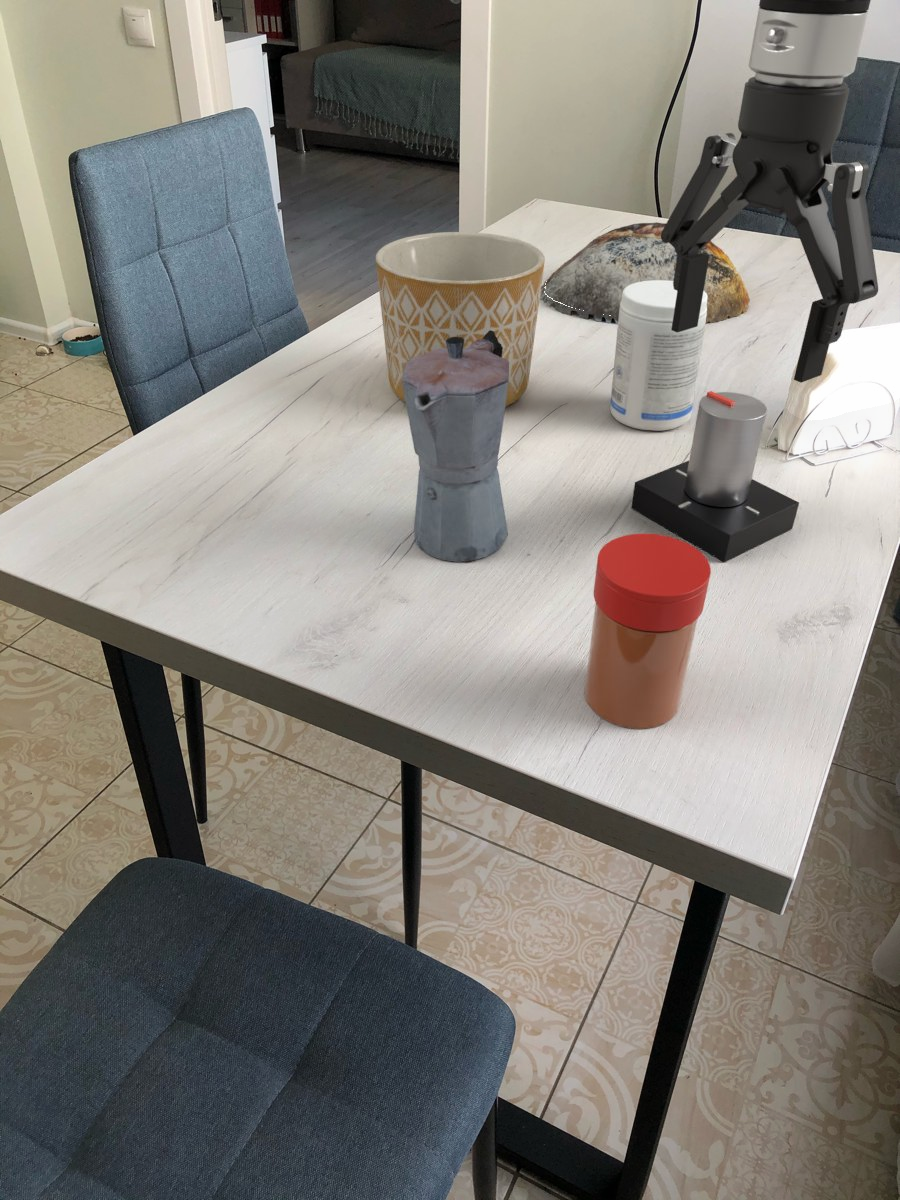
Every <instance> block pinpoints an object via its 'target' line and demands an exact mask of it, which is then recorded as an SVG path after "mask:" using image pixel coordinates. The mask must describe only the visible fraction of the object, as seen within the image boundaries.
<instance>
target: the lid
mask: <svg viewBox="0 0 900 1200" xmlns="http://www.w3.org/2000/svg"><path fill="white" fill-rule="evenodd" d="M711 573H712V568H711V565H710V562H709V559H707V557H706V556H705V555H704V554H703V552H701V551H700V550H699V549H698V548H697V547H696V546H693V544H691V543H688V542H687V541H683V540H681V539H678V538H675V537H672V536H669V535H663V534H657V533H631V534H626V535H621V536H617V537H616V538H613V539H612V540H610V541H608V542H607V543H605V544H604V545H603V546H602V547H601V549H599V552H598V555H597V560H596V568H595V577H594V584H593V598H594V602H595V603H596V604H597V606H598V607H599V608H600V610H601V611H602V612H603V613H604V614H606V615H607V616H608V617H609V618H611V619H613V620H614V621H616V622H618V623H620V624H623V625H625V626H628V627H631V628H634V629H639V630H645V631H656V632H658V631H671V630H677V629H680V628H683V627H686V626H688V625H690V624H691V623H693V622H694V621H696V620H697V621H698V619H699V618H700V617H701V615H702V613H703V611H704V606H705V602H706V598H707V592H708V589H709V588H708V587H709V583H710V578H711Z"/></svg>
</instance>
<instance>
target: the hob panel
mask: <svg viewBox="0 0 900 1200" xmlns="http://www.w3.org/2000/svg"><path fill="white" fill-rule="evenodd" d="M688 465H689V460H686V461H683V462H682V463H679V464H676V465H674V466H671V467H669V468H667V469H664V470H662V471H660V472H656V473H655V474H651V475H650V476H646V477H643V478H642V479H640V480H637V481H635V482H634V487H633V492H632V493H633V494H632V501H631V507H630V508H631V509H632V510H633V511H635V512H638V513H639V514H641V516H643V517H646V518H647V519H649V520H651V521H652V522H654V523H656V524H658V525H659V526H661V527H663V528H664V529H666V530H668V531H669V532H671V533H673V534H674V535H677V536H678V537H680V538H681V539H683V540H685V541H686V542H687V543H688V542H689V544H691V545H694V547H696V548H699V549H700V550H702V551H704V552H706V553H707V554H708V555H710V556H712V557H714V558H715V559H718V560H719V561H720V562H723V563H726V562H728V561H730V560H732V559H734V558H736V557H738V556H740V555H742V554H745V553H746V552H748V551H751V550H753V549H754V548H756V547H759V546H761V545H762V544H765V543H767V542H769V541H772V540H773V539H775V538H777V537H779V536H781V535H783V534H785V533H787V532H789V531H791V530H793V529H794V528H793V527H794V524H795V521H796V517H797V512H798V510H799V505H800V502H799V501H797V500H795V499H793V498H791V497H789V496H787V495H785V494H783V493H781V492H779V491H777V490H775V489H773V488H771V487H769V486H768V485H765V484H763V483H761V482H759V481H757V480H755V479H753V478H752V480H751V484H750V489H749V493H748V497H747V499H746V500H745V501H744V502H743V503H741V504H739V505H736V506H732V507H714V506H709V505H705V504H702V503H699V502H697V501H695V500H693V499H692V498H691V497H689V496H688V495H687V493H686V492H685V481H686V476H687V470H688Z"/></svg>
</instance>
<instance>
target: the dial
mask: <svg viewBox="0 0 900 1200" xmlns="http://www.w3.org/2000/svg"><path fill="white" fill-rule="evenodd" d="M767 413H768V409H767V405H766V404H765V403H764V402H763V401H761V400H760V399H758V398H756V397H753V396H751V395H747V394H744V393H739V392H731V391H722V392H721V391H720V392H715V391H712V390H710V391H707V392H706V395H704V396H703V397H701V398H700V400H699V403H698V409H697V414H696V420H695V426H694V432H693V438H692V443H691V449H690V453H689V459H688V461H689V465H688V470H687V476H686V481H685V492H686V493H687V495H688V496H689V497H691V498H692V499H693V500H695V501H697V502H699V503H702V504H705V505H709V506H714V507H732V506H736V505H739V504H741V503H743V502H744V501H745V500H746V499H747V497H748V493H749V489H750V484H751V480H752V479H753V474H754V471H755V466H756V462H757V458H758V453H759V449H760V443H761V439H762V435H763V431H764V426H765V423H766V417H767Z"/></svg>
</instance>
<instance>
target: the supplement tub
mask: <svg viewBox="0 0 900 1200" xmlns="http://www.w3.org/2000/svg"><path fill="white" fill-rule="evenodd" d="M676 297H677V290H674V287H673V281H666V280H651V281H642V282H637V283H633V284H631V285H629V286H627V287H626V288H624V290H623V293H622V300H621V302H620V310H619V319H618V324H617V328H616V329H617V330H616V341H615V349H614V351H615V352H614V359H613V360H614V362H613V372H612V383H611V394H610V402H609V403H610V405H609V409H610V413H611V415H612V417H613V418H614V419H615V420H616V421H618V422H619V423H621V424H623V425H624V426H627V427H629V428H633V429H636V430H642V431H655V432H659V431H661V432H662V431H670V430H674V429H676V428H677V429H678V428H679V427H682V426H683V425H684V424H686V423H688V421H689V420H690V418H691V416H692V411H693V407H694V401H695V393H696V388H697V380H698V375H699V374H698V373H699V368H700V361H701V355H702V350H703V349H702V347H703V341H704V336H705V328H706V324H707V323H706V316H707V298H708V296H707V294H706V292H705V291H703V297H702V303H701V308H700V314H699V320H698V326H697V327H694V328H691V329H687V330H684V331H681V332H678V333H677V332H675V331H672V330H671V329H672V323H673V316H674V310H675V303H676Z"/></svg>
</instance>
